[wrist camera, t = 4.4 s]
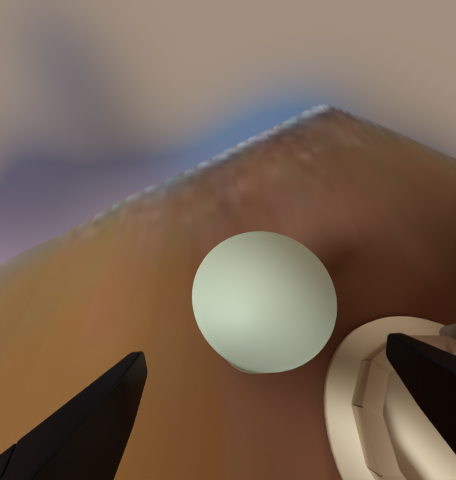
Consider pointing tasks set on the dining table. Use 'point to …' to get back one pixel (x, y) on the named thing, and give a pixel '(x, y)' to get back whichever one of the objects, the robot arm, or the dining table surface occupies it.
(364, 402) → the flange plate
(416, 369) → the robot arm
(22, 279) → the dining table surface
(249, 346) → the post
